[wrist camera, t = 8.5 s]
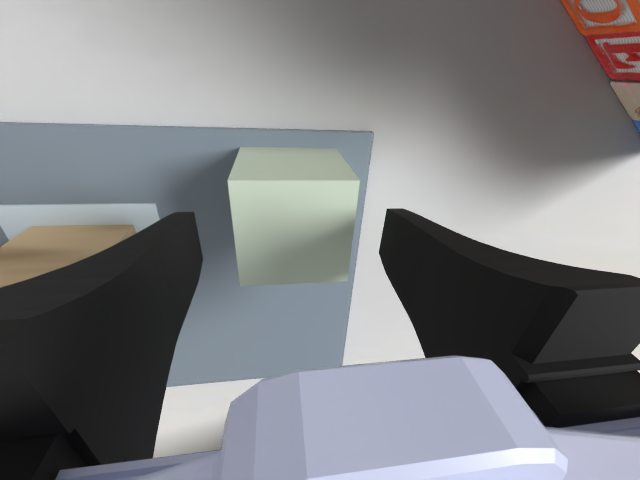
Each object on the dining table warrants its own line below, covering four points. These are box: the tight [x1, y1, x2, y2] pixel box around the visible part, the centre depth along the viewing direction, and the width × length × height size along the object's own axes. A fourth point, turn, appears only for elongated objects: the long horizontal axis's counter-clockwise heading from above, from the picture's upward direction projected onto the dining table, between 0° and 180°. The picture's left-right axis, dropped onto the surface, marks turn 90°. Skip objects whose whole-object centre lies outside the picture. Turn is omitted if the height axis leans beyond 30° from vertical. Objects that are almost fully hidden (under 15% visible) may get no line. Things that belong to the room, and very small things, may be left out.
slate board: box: [0, 122, 374, 387], centre depth 17 cm, size 18×18×1 cm
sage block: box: [227, 147, 360, 286], centre depth 13 cm, size 4×4×4 cm
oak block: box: [0, 225, 136, 288], centre depth 14 cm, size 4×4×4 cm
